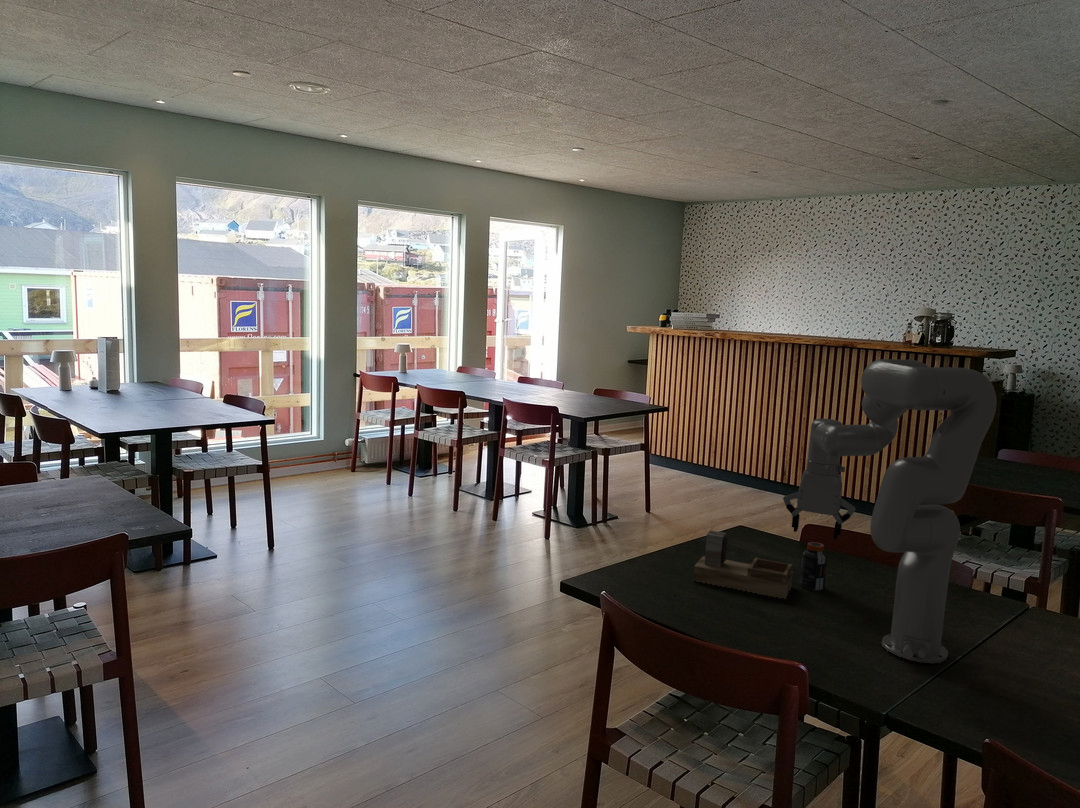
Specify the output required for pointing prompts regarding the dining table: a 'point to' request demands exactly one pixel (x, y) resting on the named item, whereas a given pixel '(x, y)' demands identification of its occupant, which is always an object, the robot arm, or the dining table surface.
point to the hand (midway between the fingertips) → (815, 534)
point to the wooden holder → (741, 570)
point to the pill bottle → (813, 567)
